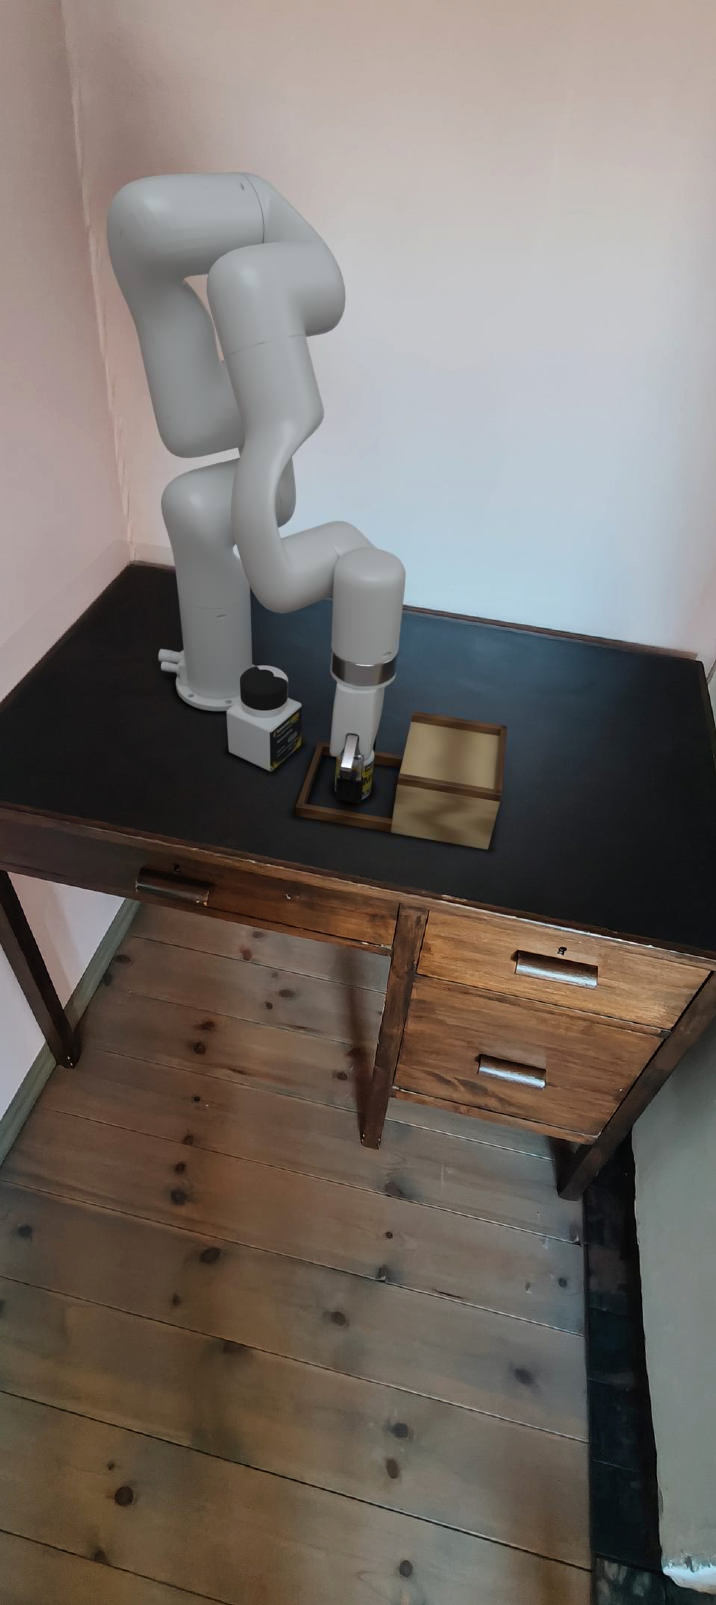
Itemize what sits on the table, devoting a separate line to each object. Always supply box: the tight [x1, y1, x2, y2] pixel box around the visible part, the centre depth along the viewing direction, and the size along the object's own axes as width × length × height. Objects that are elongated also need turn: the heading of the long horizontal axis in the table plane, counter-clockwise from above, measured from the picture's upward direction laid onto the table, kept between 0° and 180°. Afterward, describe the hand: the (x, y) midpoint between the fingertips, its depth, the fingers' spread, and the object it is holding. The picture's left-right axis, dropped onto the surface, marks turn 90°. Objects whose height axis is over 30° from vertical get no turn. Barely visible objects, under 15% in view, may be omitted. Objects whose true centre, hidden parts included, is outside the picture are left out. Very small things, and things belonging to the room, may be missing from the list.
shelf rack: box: [295, 710, 508, 850], centre depth 103 cm, size 24×13×9 cm, turn 79°
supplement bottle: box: [334, 748, 375, 800], centre depth 104 cm, size 5×5×8 cm
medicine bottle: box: [226, 664, 303, 772], centre depth 108 cm, size 7×7×12 cm
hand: (355, 774), depth 105 cm, fingers open, 9 cm apart
